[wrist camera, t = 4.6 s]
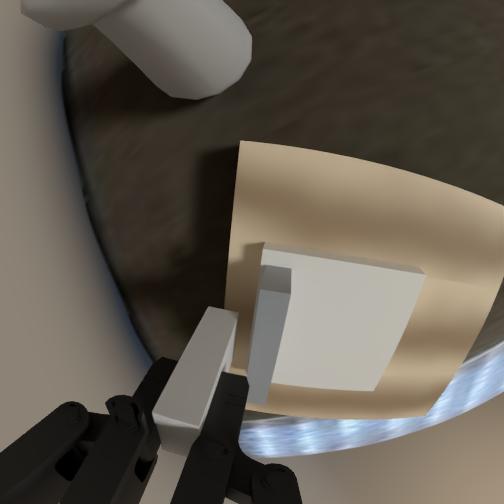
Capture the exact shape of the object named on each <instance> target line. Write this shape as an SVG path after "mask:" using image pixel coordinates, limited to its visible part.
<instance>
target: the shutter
mask: <svg viewBox="0 0 504 504" xmlns="http://www.w3.org/2000/svg"><path fill="white" fill-rule="evenodd" d="M425 277H426V274H425V273H424V272H423V271H422V270H421V269H420V268H419V267H414V266H408V265H403V264H397V263H391V262H385V261H379V260H373V259H367V258H361V257H355V256H349V255H343V254H337V253H331V252H325V251H318V250H312V249H306V248H300V247H293V246H287V245H281V244H274V243H268V242H265V244H264V247H263V252H262V259H261V266H260V274H259V281H258V288H257V295H256V302H255V309H254V316H253V323H252V330H251V337H250V344H249V351H248V358H247V364H246V371H245V376H246V377H247V380H248V383H249V386H250V387H249V392H248V397H247V402H248V403H254V404H260V405H265V404H266V400H267V396H268V392H269V389H270V385H271V383H277V384H284V385H292V386H301V387H310V388H321V389H334V390H352V391H374V389H375V387H376V386H377V384H378V382H379V380H380V378H381V377H382V375H383V373H384V371H385V369H386V367H387V366H388V364H389V362H390V360H391V358H392V356H393V354H394V352H395V350H396V348H397V346H398V343H399V341H400V339H401V337H402V335H403V333H404V330H405V328H406V326H407V324H408V321H409V319H410V317H411V314H412V312H413V309H414V307H415V304H416V302H417V299H418V296H419V294H420V291H421V288H422V286H423V283H424V280H425Z"/></svg>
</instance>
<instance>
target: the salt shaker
mask: <svg viewBox="0 0 504 504" xmlns="http://www.w3.org/2000/svg"><path fill="white" fill-rule="evenodd" d="M21 13H22V14H24V15H25V16H27V17H29V18H31V19H32V20H34V21H36V22H38V23H39V24H41V25H43V26H44V27H47V28H52V29H57V30H61V31H63V30H72V29H76V28H80V27H84V26H88V25H92V24H93V25H94V26H95V27H96V28H98V29H99V30H100V31H101V32H102V33H103V34H104V35H106V36H107V37H108V38H109V39H110V40H111V41H112V42H113V43H114V44H115V45H116V46H117V47H118V48H119V49H120V50H121V51H122V52H123V53H124V54H125V55H126V56H127V57H128V58H129V59H130V60H131V61H132V62H133V63H134V64H135V65H136V66H137V67H138V68H139V69H140V70H141V71H142V72H143V73H144V74H145V75H146V76H147V77H148V78H149V79H150V80H151V81H152V82H153V83H154V84H155V85H156V86H157V87H159V88H160V89H161V90H163V91H164V92H165V93H167V94H168V95H169V96H171V97H177V98H186V99H194V100H199V99H202V98H206V97H210V96H214V95H218V94H221V93H222V92H223V91H225V90H226V89H227V88H229V87H230V86H231V85H233V84H234V83H235V82H237V81H238V80H240V78H241V76H242V75H243V73H244V71H245V70H246V68H247V66H248V65H249V63H250V62H251V52H252V36H251V35H250V33H249V31H248V29H247V28H246V26H245V24H244V23H243V21H242V20H241V19H240V18H239V17H238V16H237V14H236V13H235V12H234V11H233V10H232V9H231V8H230V7H229V6H228V5H227V4H226V3H225V2H224V1H222V0H21Z"/></svg>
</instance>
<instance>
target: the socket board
mask: <svg viewBox="0 0 504 504" xmlns="http://www.w3.org/2000/svg"><path fill="white" fill-rule="evenodd" d="M265 242H268V243H274V244H281V245H287V246H293V247H300V248H306V249H312V250H318V251H325V252H331V253H337V254H343V255H349V256H355V257H361V258H367V259H373V260H379V261H385V262H391V263H397V264H403V265H408V266H414V267H419V268H420V269H421V270H422V271H423V272H424V273H425V274H426V277H425V280H424V283H423V286H422V288H421V291H420V294H419V296H418V299H417V302H416V304H415V307H414V309H413V312H412V314H411V317H410V319H409V321H408V324H407V326H406V328H405V330H404V333H403V335H402V337H401V339H400V341H399V343H398V346H397V348H396V350H395V352H394V354H393V356H392V358H391V360H390V362H389V364H388V366H387V367H386V369H385V371H384V373H383V375H382V377H381V378H380V380H379V382H378V384H377V386H376V387H375V389H374V391H352V390H334V389H321V388H310V387H301V386H292V385H284V384H277V383H271V385H270V389H269V392H268V396H267V400H266V404H265V405H260V404H254V403H248V402H246V408H245V409H247V410H253V411H259V412H266V413H273V414H281V415H289V416H299V417H311V418H326V419H394V418H408V417H419V416H425V415H426V414H427V413H428V412H429V410H430V409H431V408H432V407H433V405H434V404H435V403H436V401H437V400H438V399H439V397H440V396H441V394H442V393H443V392H444V390H445V389H446V387H447V386H448V384H449V383H450V381H451V380H452V378H453V377H454V375H455V374H456V372H457V371H458V369H459V367H460V366H461V364H462V363H463V361H464V359H465V358H466V356H467V354H468V352H469V351H470V349H471V347H472V345H473V343H474V342H475V340H476V338H477V336H478V334H479V332H480V330H481V328H482V326H483V324H484V322H485V320H486V318H487V316H488V314H489V311H490V309H491V307H492V305H493V302H494V300H495V297H496V295H497V293H498V290H499V287H500V285H501V282H502V280H503V277H504V206H502V205H500V204H498V203H495V202H493V201H491V200H488V199H486V198H484V197H481V196H479V195H476V194H473V193H471V192H468V191H466V190H463V189H460V188H457V187H455V186H452V185H449V184H446V183H443V182H440V181H437V180H434V179H431V178H428V177H425V176H421V175H418V174H415V173H411V172H408V171H404V170H401V169H397V168H393V167H390V166H386V165H382V164H378V163H374V162H369V161H365V160H361V159H356V158H352V157H347V156H342V155H337V154H332V153H327V152H321V151H315V150H310V149H303V148H297V147H290V146H283V145H276V144H268V143H259V142H249V141H240V148H239V157H238V166H237V175H236V185H235V194H234V204H233V214H232V225H231V235H230V246H229V257H228V269H227V281H226V293H225V306H224V310H229V311H234V312H239V316H238V325H237V333H236V342H235V350H234V356H233V359H232V363H231V366H230V369H229V372H228V373H232V374H237V375H242V376H245V371H246V364H247V358H248V351H249V344H250V337H251V330H252V323H253V316H254V309H255V302H256V295H257V288H258V281H259V274H260V266H261V259H262V252H263V247H264V244H265Z"/></svg>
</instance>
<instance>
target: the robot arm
mask: <svg viewBox="0 0 504 504" xmlns="http://www.w3.org/2000/svg"><path fill="white" fill-rule="evenodd" d="M238 316H239V312H234V311H229V310H224V309H219V308H214V307H209V306H208V308H207V310H206V312H205V314H204V315H203V317H202V319H201V321H200V323H199V325H198V326H197V328H196V330H195V332H194V334H193V336H192V338H191V339H190V341H189V343H188V345H187V347H186V349H185V351H184V352H183V354H182V356H181V358H180V360H179V361H175V360H172V359H168V358H165V357H162V358H160V359H159V360H157V361H156V362H154V363H153V364H152V366H151V368H150V369H149V371H148V373H147V374H146V375H145V377H144V379H143V381H142V382H141V383H140V385H139V387H138V388H137V390H136V391H135V393H134V395H133V396H132V397H131V396H126V395H117V396H114V397H112V398H110V399H108V401H106V402H105V404H106V407H107V409H108V411H109V414H110V415H108V414H99V413H93V412H88V411H87V409H86V408H85V407H84V406H83V405H82V404H80V403H78V402H74V401H71V402H66V403H64V404H62V405H60V406H59V407H58V408H56V409H55V410H54V411H53V412H51V413H50V414H49V415H48V416H46V417H45V418H44V419H42V420H41V421H40V422H39V423H38V424H36V425H35V426H34V427H32V428H31V429H30V430H29V431H27V432H26V433H25V434H23V435H22V436H21V437H20V438H19V439H17V440H16V441H15V442H13V443H12V444H11V445H10V446H8V447H7V448H6V449H4V450H3V451H2V452H1V453H0V504H58V503H59V502H60V503H59V504H139V502H140V500H141V497H142V495H143V493H144V490H145V488H146V486H147V483H148V481H149V479H150V477H151V474H152V472H153V469H154V467H155V465H156V463H157V458H158V455H157V451H158V449H159V446H160V444H161V447H162V449H163V450H166V451H169V452H173V453H175V454H179V455H182V456H186V457H187V460H186V462H185V465H184V468H183V470H182V473H181V476H180V479H179V481H178V484H177V487H176V489H175V492H174V495H173V497H172V500H171V503H170V504H223V503H224V499H225V497H226V498H228V499H230V500H232V501H234V502H236V503H238V504H302V500H301V495H300V491H299V487H298V482H297V478H296V476H295V474H294V472H293V471H292V470H290V469H289V468H288V467H286V466H284V465H281V464H273V463H271V464H266V465H264V464H262V463H259V462H257V461H255V460H253V459H251V458H249V457H248V456H246V455H245V454H244V453H243V452H242V450H241V449H240V447H239V443H238V439H239V435H240V430H241V426H242V421H243V417H244V412H245V408H246V402H247V397H248V392H249V387H250V386H249V383H248V380H247V377H246V376H242V375H237V374H232V373H228V372H229V369H230V366H231V363H232V359H233V356H234V350H235V342H236V333H237V325H238Z"/></svg>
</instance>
